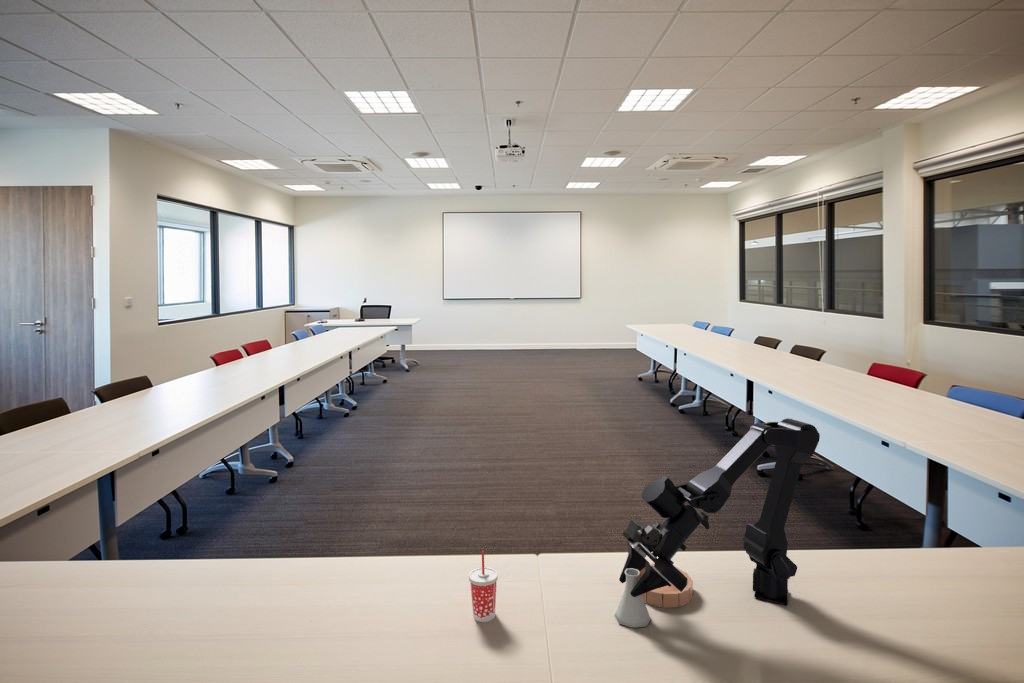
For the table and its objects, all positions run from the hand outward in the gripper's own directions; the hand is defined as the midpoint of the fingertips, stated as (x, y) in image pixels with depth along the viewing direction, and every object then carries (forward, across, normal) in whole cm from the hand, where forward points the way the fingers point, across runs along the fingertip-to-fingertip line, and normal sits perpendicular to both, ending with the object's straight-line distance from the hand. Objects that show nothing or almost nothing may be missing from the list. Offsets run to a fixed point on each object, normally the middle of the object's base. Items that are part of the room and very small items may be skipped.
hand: (626, 588), depth 109 cm
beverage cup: (+25, -8, -15) cm, 30 cm away
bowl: (-4, -8, +13) cm, 16 cm away
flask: (+4, 0, +6) cm, 7 cm away
